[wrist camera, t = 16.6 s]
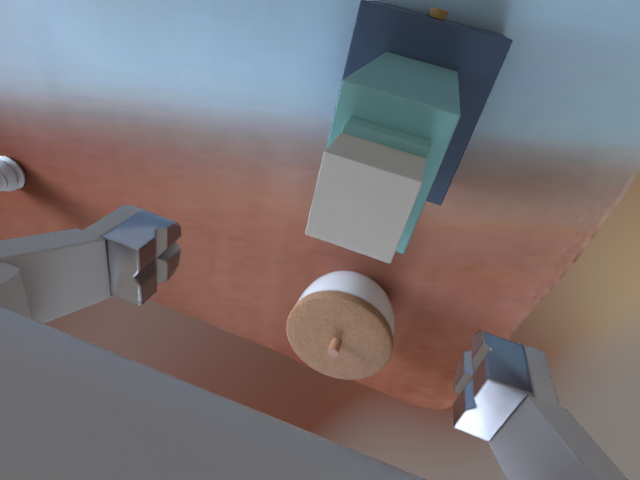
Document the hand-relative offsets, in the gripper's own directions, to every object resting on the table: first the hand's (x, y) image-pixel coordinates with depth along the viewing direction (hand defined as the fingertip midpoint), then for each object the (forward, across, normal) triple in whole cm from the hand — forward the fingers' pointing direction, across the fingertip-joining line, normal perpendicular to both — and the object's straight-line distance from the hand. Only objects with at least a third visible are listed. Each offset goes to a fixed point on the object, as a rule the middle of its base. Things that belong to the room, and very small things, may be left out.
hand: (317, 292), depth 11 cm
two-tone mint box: (+20, 0, +6) cm, 21 cm away
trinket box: (+28, -1, +22) cm, 36 cm away
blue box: (+28, 0, 0) cm, 28 cm away
